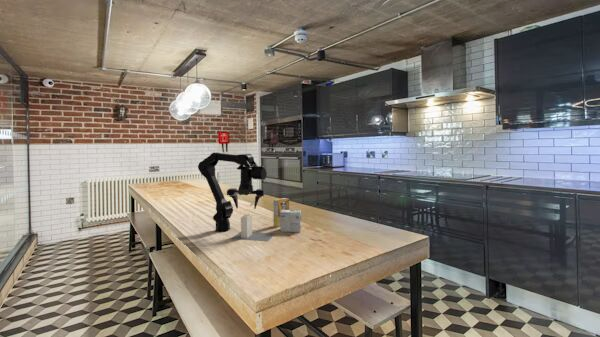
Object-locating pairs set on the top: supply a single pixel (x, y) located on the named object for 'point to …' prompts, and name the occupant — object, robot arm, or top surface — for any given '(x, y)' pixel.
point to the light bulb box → (290, 220)
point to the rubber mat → (255, 236)
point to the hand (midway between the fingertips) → (246, 208)
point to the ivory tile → (246, 226)
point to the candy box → (279, 209)
